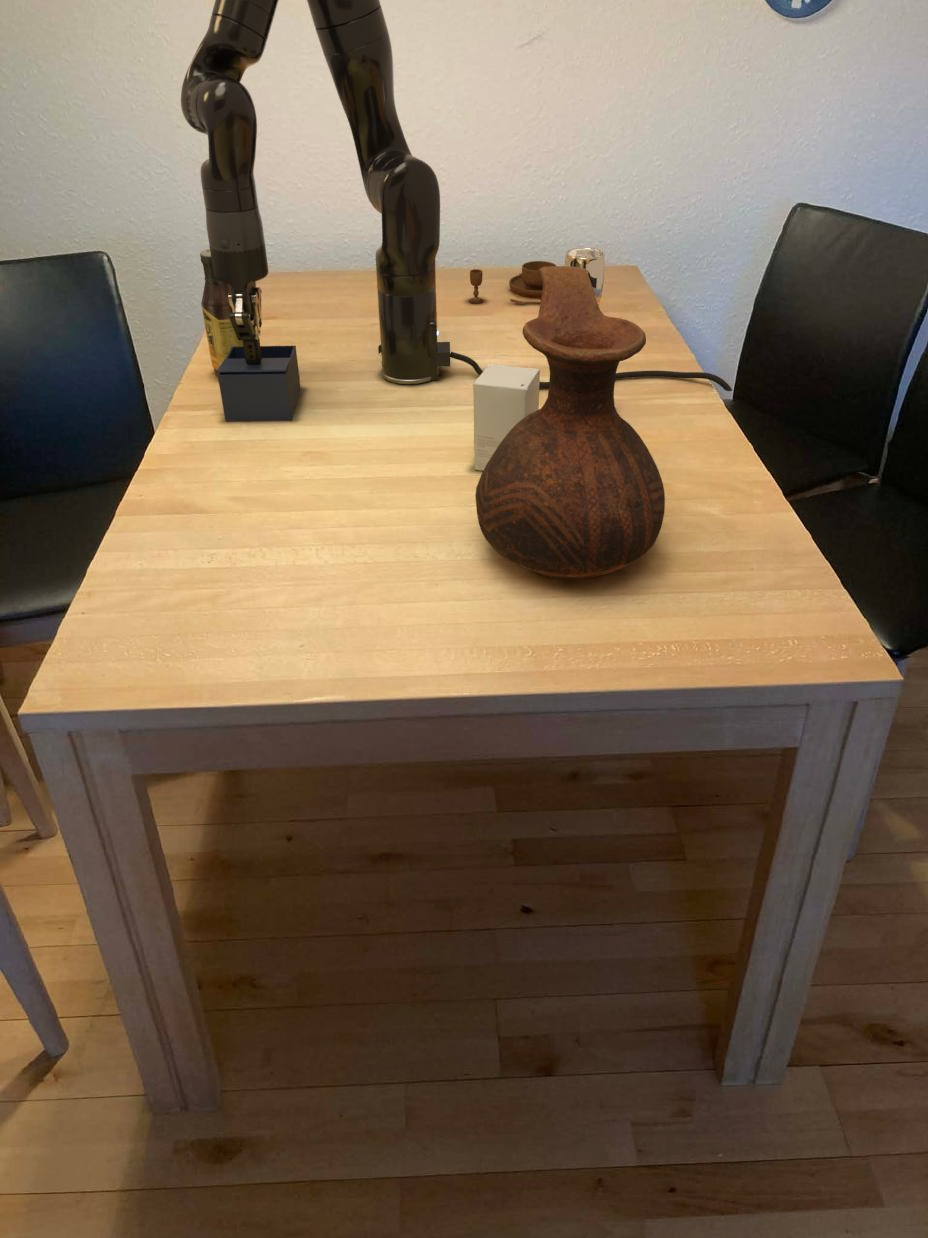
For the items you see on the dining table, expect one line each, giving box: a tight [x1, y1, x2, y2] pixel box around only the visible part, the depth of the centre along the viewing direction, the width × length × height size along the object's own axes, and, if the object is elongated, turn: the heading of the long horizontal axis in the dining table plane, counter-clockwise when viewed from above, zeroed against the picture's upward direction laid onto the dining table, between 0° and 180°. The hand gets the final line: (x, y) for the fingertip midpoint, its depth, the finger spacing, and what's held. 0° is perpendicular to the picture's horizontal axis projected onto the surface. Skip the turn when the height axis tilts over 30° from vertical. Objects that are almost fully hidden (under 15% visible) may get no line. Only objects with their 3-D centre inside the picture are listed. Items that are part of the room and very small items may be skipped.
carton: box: [217, 345, 302, 422], centre depth 143 cm, size 10×12×7 cm
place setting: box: [468, 260, 557, 305], centre depth 188 cm, size 18×20×6 cm
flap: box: [217, 358, 291, 372], centre depth 139 cm, size 10×6×1 cm, turn 91°
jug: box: [475, 265, 666, 579], centre depth 102 cm, size 22×22×30 cm
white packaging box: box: [472, 363, 541, 472], centre depth 126 cm, size 7×7×13 cm
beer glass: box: [564, 247, 605, 307], centre depth 163 cm, size 7×7×15 cm
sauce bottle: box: [199, 248, 243, 377], centre depth 150 cm, size 6×6×20 cm
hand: (254, 362), depth 139 cm, fingers closed
